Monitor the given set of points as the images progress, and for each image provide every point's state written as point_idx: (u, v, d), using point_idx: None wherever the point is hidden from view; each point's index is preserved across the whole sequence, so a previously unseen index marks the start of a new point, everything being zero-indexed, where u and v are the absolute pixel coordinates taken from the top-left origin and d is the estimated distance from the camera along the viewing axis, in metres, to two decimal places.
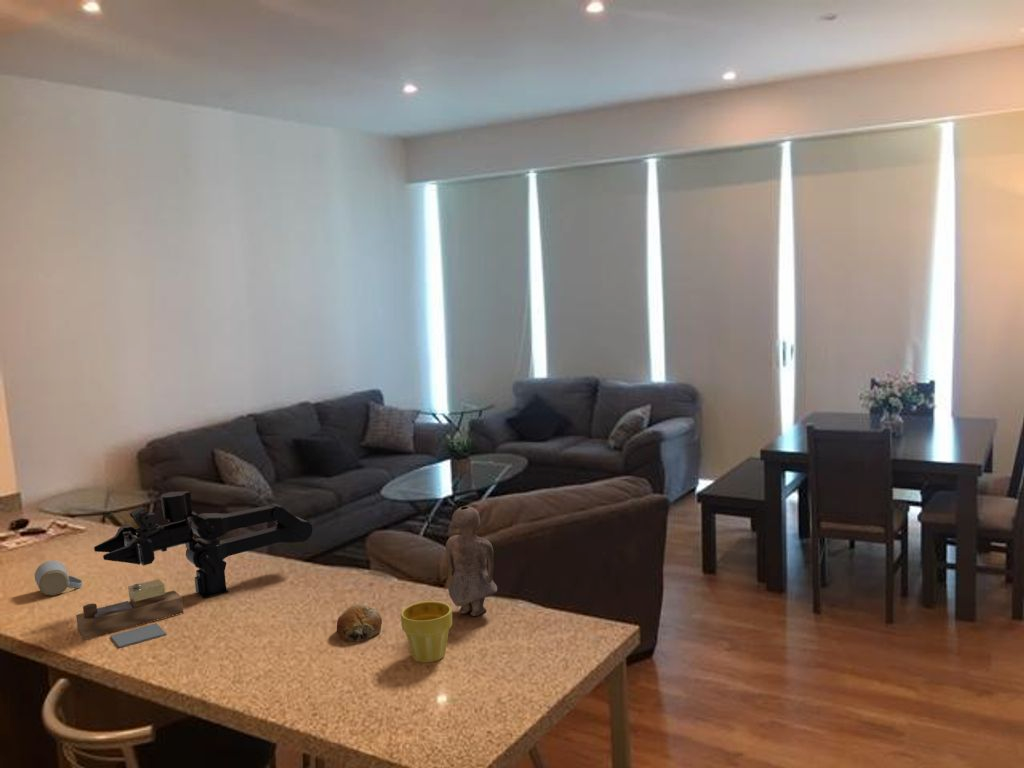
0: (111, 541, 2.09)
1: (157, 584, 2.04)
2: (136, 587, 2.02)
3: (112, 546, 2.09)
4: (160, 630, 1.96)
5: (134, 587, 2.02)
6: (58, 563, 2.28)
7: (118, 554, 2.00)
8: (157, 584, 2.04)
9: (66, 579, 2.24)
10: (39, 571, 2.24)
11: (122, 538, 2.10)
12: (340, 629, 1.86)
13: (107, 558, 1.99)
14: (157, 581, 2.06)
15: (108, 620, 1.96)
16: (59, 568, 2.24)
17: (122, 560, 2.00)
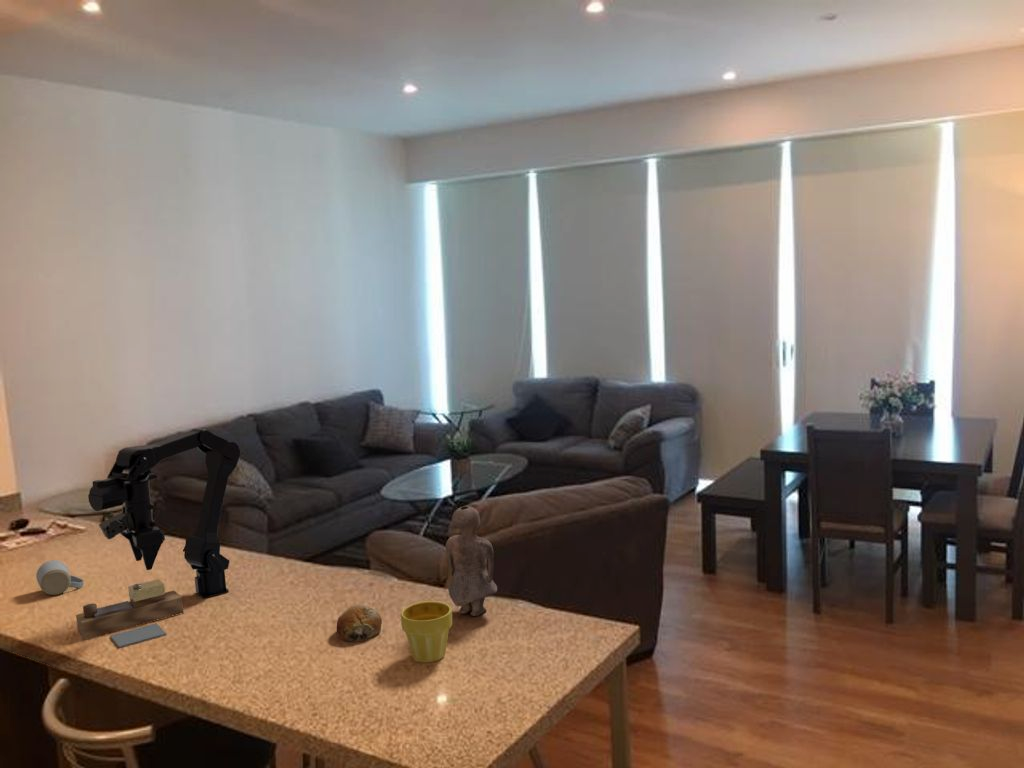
0: (133, 544, 2.06)
1: (157, 584, 2.04)
2: (136, 587, 2.02)
3: None
4: (160, 630, 1.96)
5: (134, 587, 2.02)
6: (60, 563, 2.28)
7: (148, 558, 1.99)
8: (157, 584, 2.04)
9: (68, 579, 2.24)
10: (41, 571, 2.25)
11: (132, 534, 2.06)
12: (340, 630, 1.86)
13: (150, 566, 2.00)
14: (157, 581, 2.06)
15: (108, 620, 1.96)
16: (61, 568, 2.25)
17: (155, 554, 1.99)
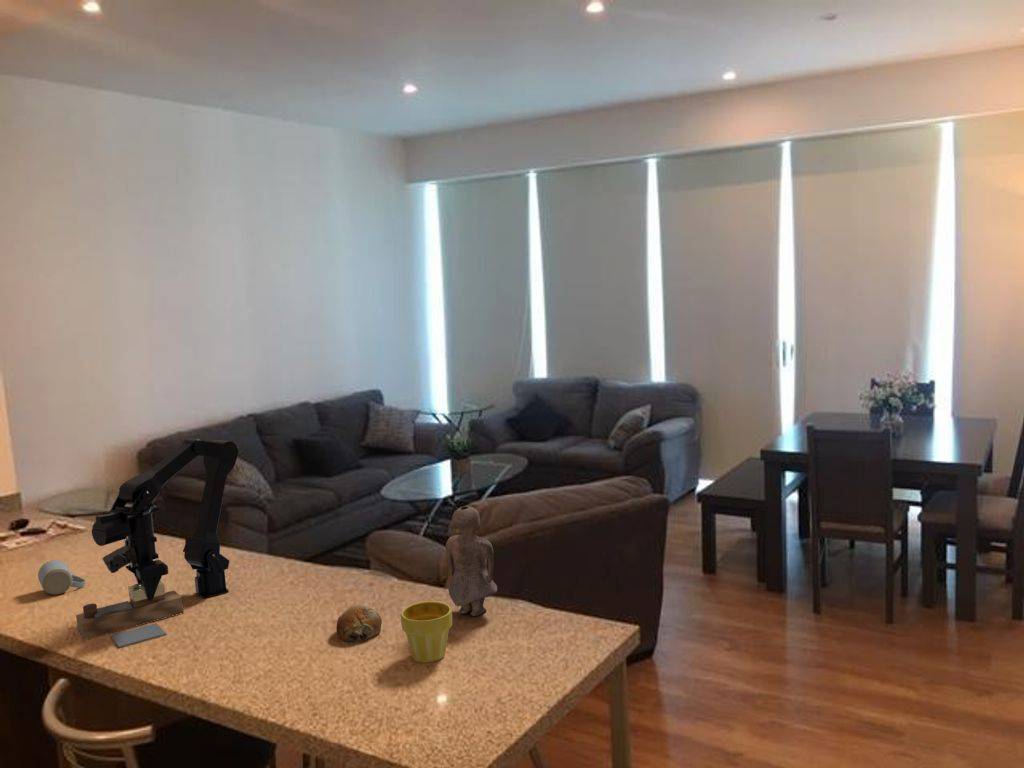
0: (139, 578, 2.05)
1: None
2: (136, 587, 2.02)
3: None
4: (160, 630, 1.96)
5: (134, 587, 2.02)
6: (61, 562, 2.28)
7: (149, 588, 2.01)
8: None
9: (69, 578, 2.25)
10: (42, 570, 2.25)
11: None
12: (340, 630, 1.86)
13: (151, 597, 2.02)
14: None
15: (108, 620, 1.96)
16: (62, 567, 2.25)
17: (156, 584, 2.02)
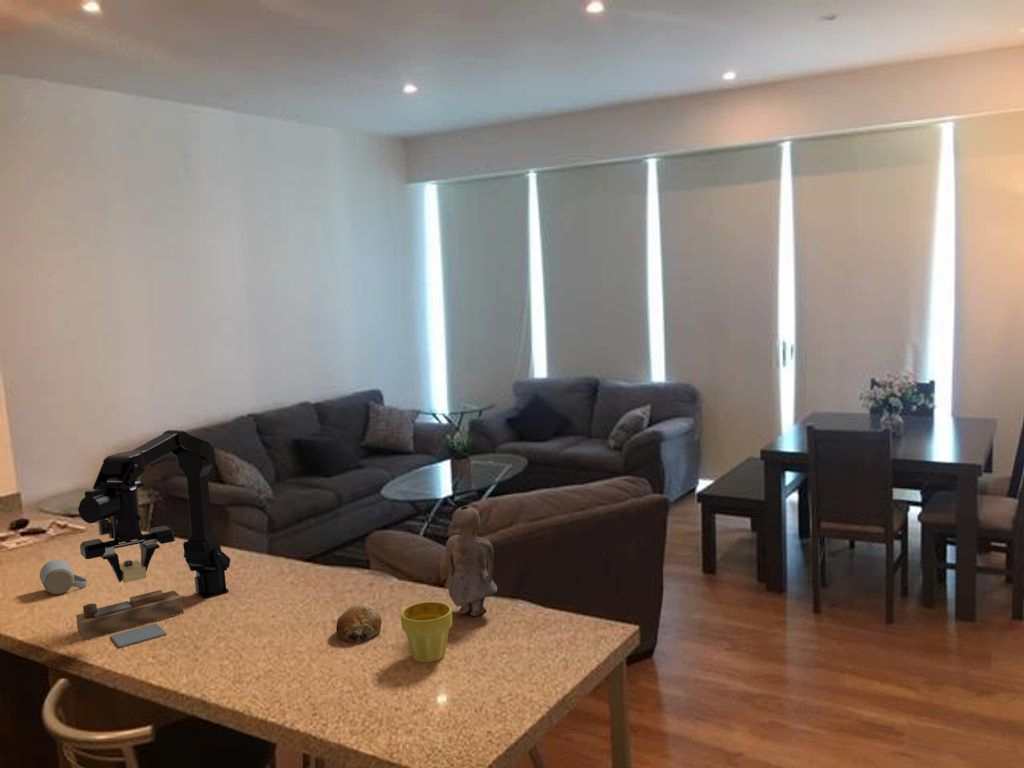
0: (141, 557, 1.95)
1: (125, 569, 1.90)
2: (123, 563, 1.94)
3: (143, 559, 1.94)
4: (160, 630, 1.96)
5: None
6: (63, 562, 2.29)
7: None
8: (127, 569, 1.90)
9: (71, 578, 2.25)
10: (44, 570, 2.25)
11: (142, 546, 1.95)
12: (339, 630, 1.86)
13: (118, 579, 1.91)
14: (137, 567, 1.91)
15: (108, 620, 1.96)
16: (64, 567, 2.25)
17: (114, 568, 1.89)
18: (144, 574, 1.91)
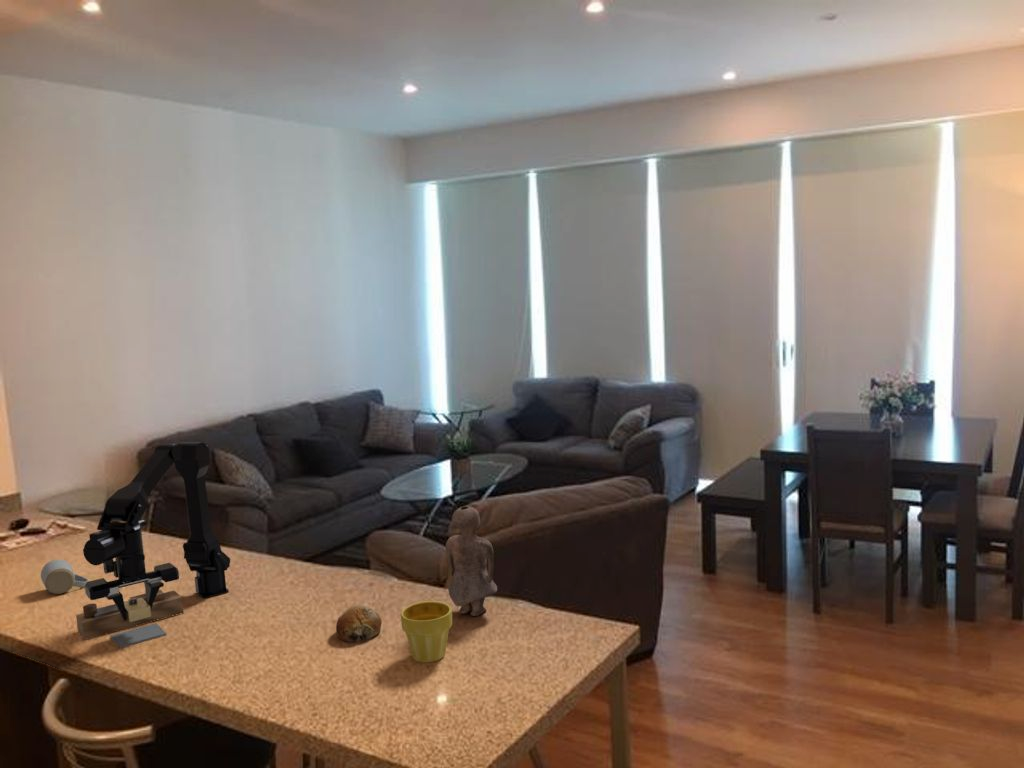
0: (146, 595, 1.95)
1: (130, 608, 1.91)
2: (128, 601, 1.95)
3: (148, 597, 1.94)
4: (160, 630, 1.96)
5: None
6: (64, 562, 2.29)
7: (119, 608, 1.91)
8: (132, 608, 1.91)
9: (72, 578, 2.25)
10: (45, 570, 2.25)
11: (146, 584, 1.95)
12: (339, 630, 1.86)
13: (123, 618, 1.92)
14: (142, 606, 1.92)
15: (108, 620, 1.96)
16: (65, 567, 2.25)
17: (118, 607, 1.90)
18: (149, 613, 1.92)
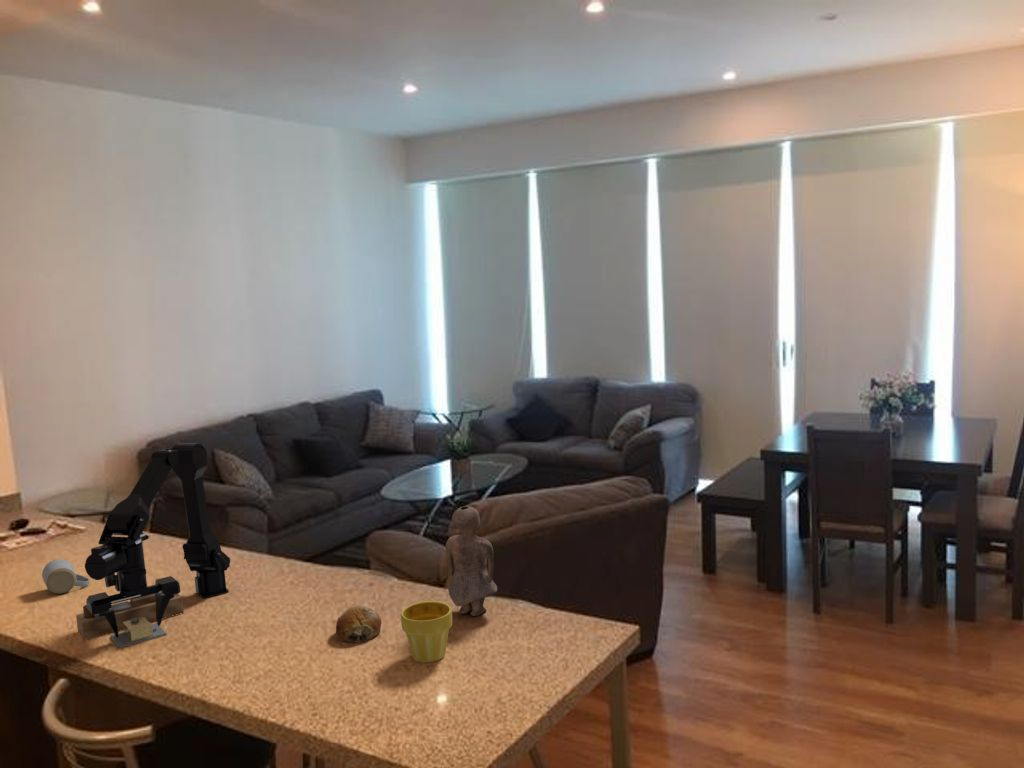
0: (156, 607, 1.97)
1: (132, 628, 1.91)
2: None
3: (158, 608, 1.96)
4: (160, 630, 1.96)
5: None
6: (65, 561, 2.29)
7: (111, 625, 1.90)
8: (134, 627, 1.91)
9: (73, 577, 2.25)
10: (46, 569, 2.25)
11: (156, 596, 1.97)
12: (339, 631, 1.86)
13: None
14: (144, 626, 1.92)
15: None
16: (66, 566, 2.25)
17: (110, 624, 1.89)
18: (151, 632, 1.92)
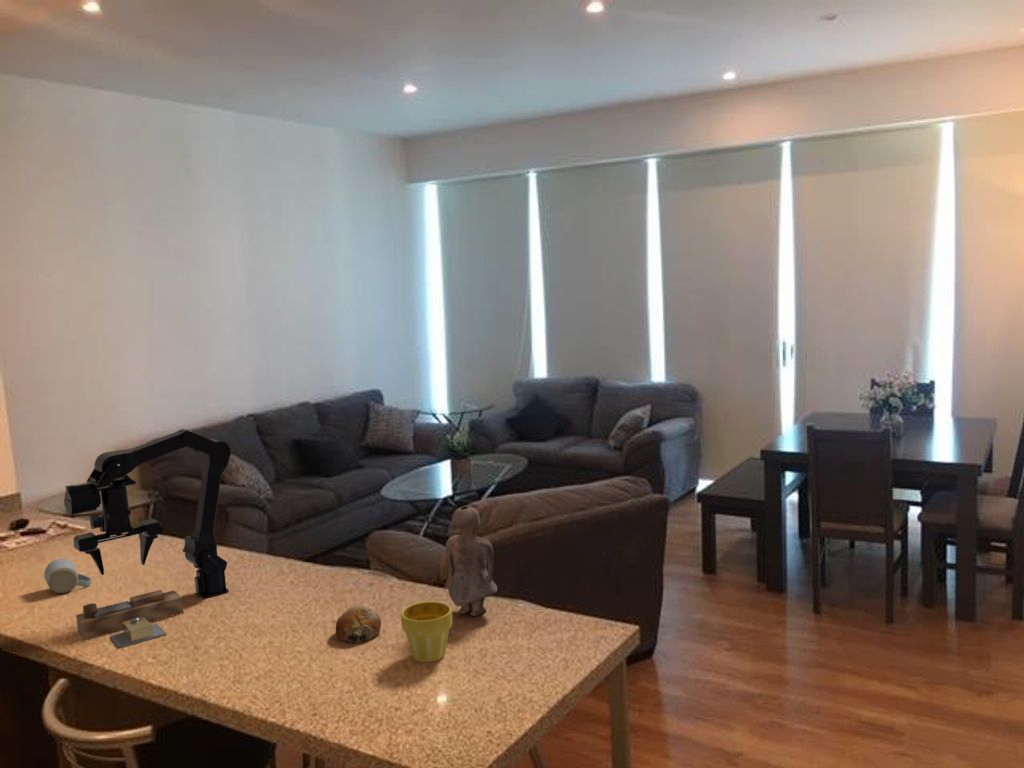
0: (140, 547, 2.08)
1: (132, 628, 1.91)
2: None
3: (143, 548, 2.07)
4: (160, 630, 1.96)
5: None
6: (67, 561, 2.29)
7: (96, 563, 2.01)
8: (134, 627, 1.91)
9: (75, 577, 2.25)
10: (49, 569, 2.26)
11: (141, 536, 2.08)
12: (339, 631, 1.86)
13: (100, 572, 2.01)
14: (144, 626, 1.92)
15: (108, 620, 1.96)
16: (68, 566, 2.26)
17: (96, 562, 1.99)
18: (151, 632, 1.92)
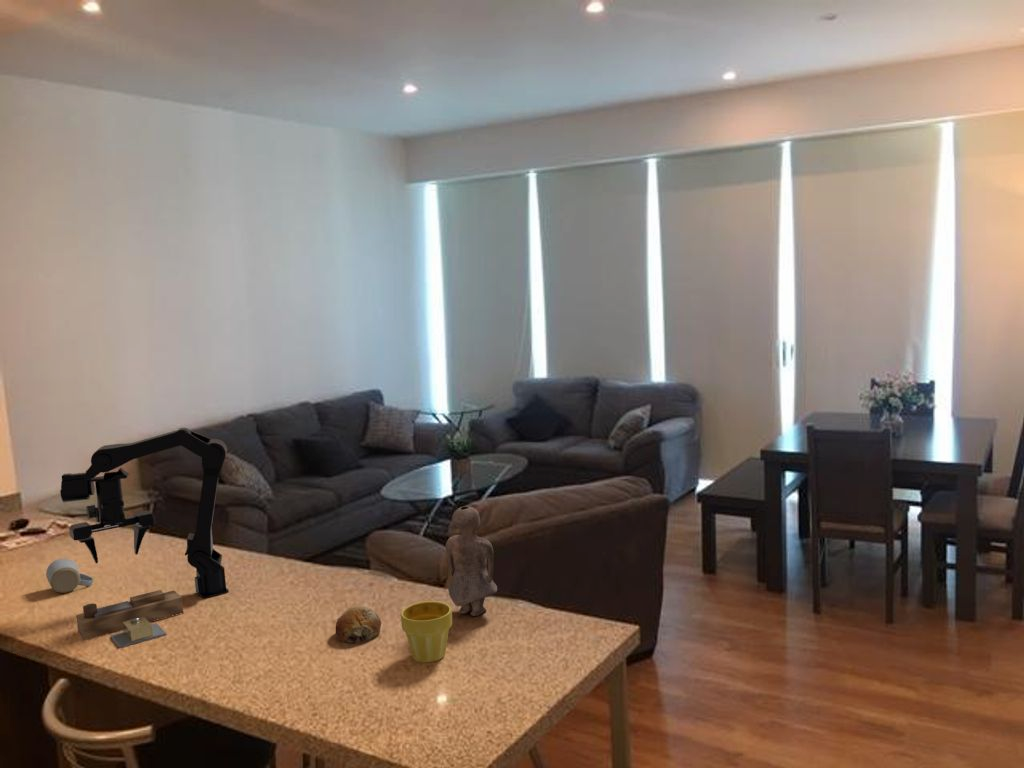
0: (134, 537, 2.16)
1: (132, 628, 1.91)
2: None
3: (136, 538, 2.15)
4: (160, 630, 1.96)
5: None
6: (69, 561, 2.29)
7: (91, 552, 2.09)
8: (134, 627, 1.91)
9: (77, 577, 2.26)
10: (51, 569, 2.26)
11: (134, 527, 2.16)
12: (339, 631, 1.85)
13: (94, 560, 2.09)
14: (144, 626, 1.92)
15: (108, 620, 1.96)
16: (70, 566, 2.26)
17: (90, 551, 2.08)
18: (151, 632, 1.92)
